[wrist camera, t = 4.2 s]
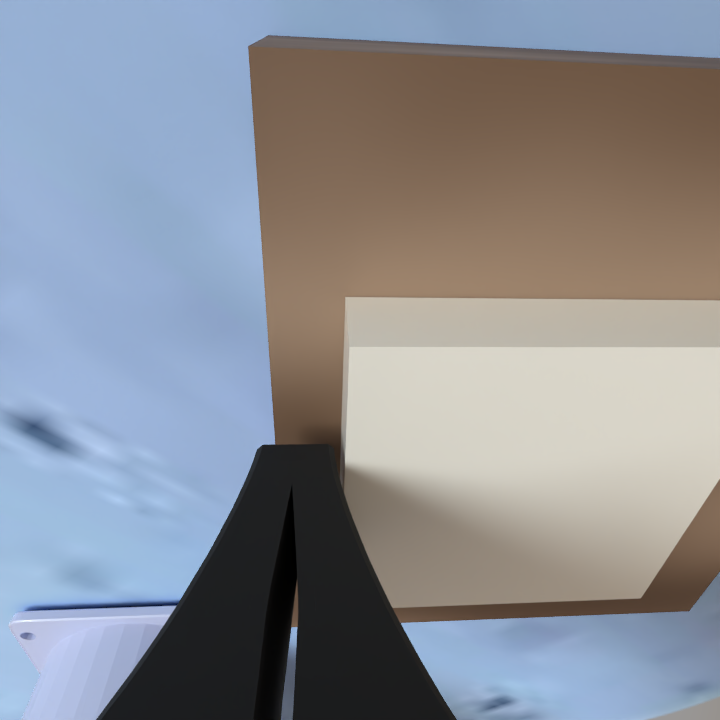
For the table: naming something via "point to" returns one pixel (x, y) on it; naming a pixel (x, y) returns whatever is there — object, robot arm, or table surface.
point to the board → (479, 214)
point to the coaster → (526, 443)
